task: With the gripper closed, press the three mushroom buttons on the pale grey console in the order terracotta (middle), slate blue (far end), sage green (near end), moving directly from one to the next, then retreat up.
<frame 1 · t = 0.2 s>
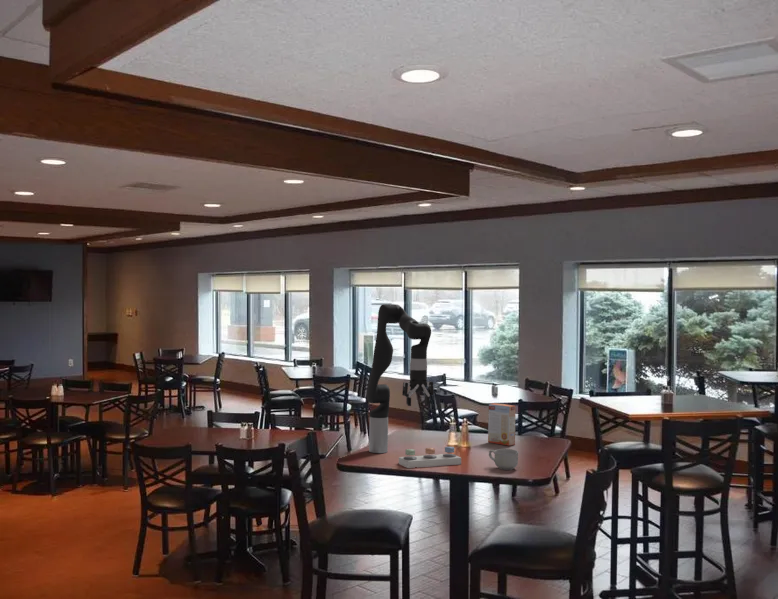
hand: (417, 405, 331), 29 cm above the table, fingers open, 8 cm apart
slate button: (449, 449, 348), point 6 cm above the table, slide at 0.0 cm
cracker box: (501, 444, 399), on the table
button panel: (429, 463, 344), on the table
teacup: (503, 468, 338), on the table
terracotta button: (430, 450, 344), point 6 cm above the table, slide at 0.0 cm
sage button: (410, 452, 340), point 6 cm above the table, slide at 0.0 cm
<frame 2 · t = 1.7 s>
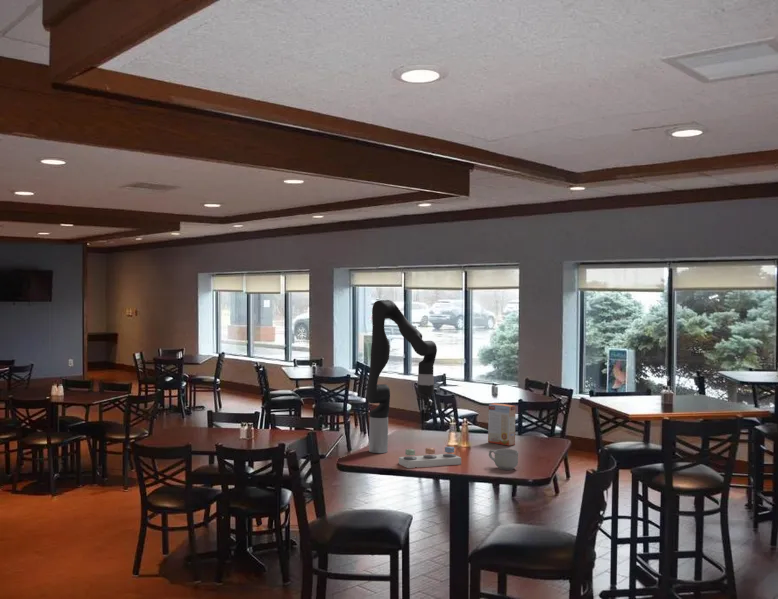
hand: (425, 420, 350), 19 cm above the table, fingers closed
nothing on the table moved.
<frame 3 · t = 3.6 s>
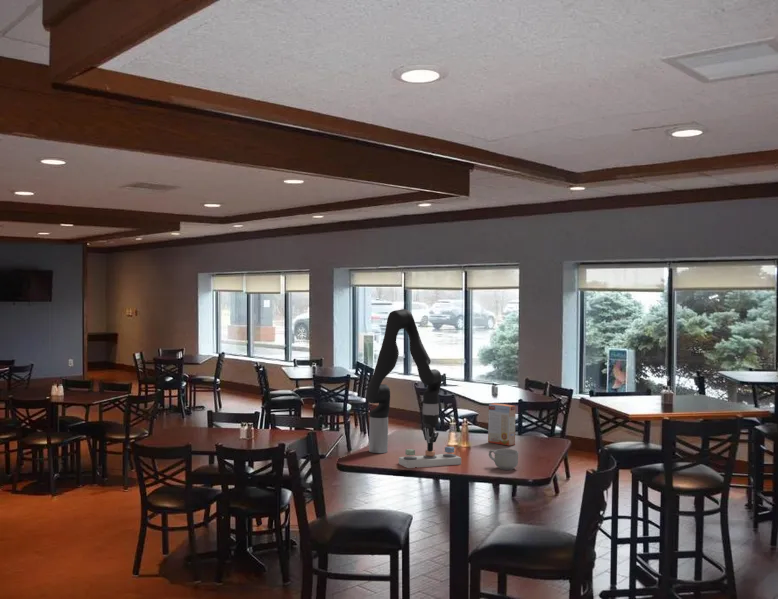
hand: (430, 450, 344), 6 cm above the table, fingers closed
terracotta button: (430, 453, 344), point 5 cm above the table, slide at 1.0 cm, touching gripper
everything else where it was.
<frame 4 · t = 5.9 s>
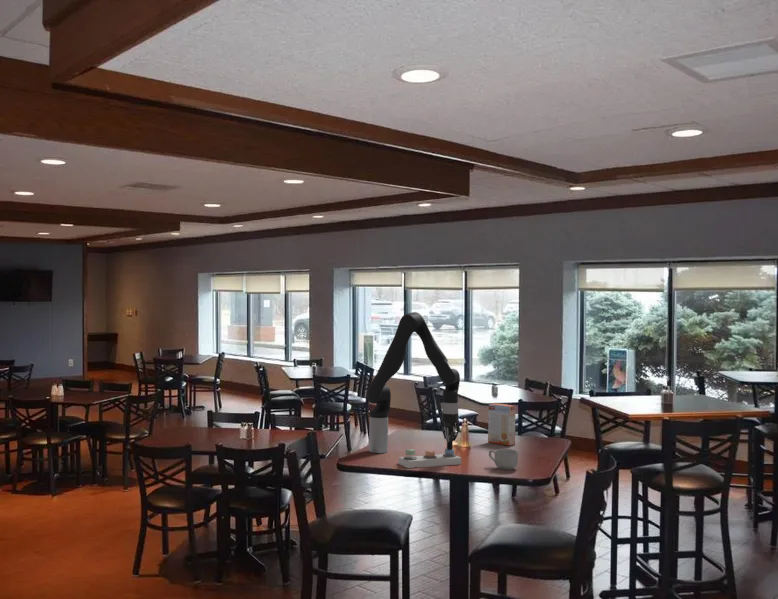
hand: (449, 449, 348), 6 cm above the table, fingers closed
slate button: (449, 451, 348), point 5 cm above the table, slide at 0.9 cm, touching gripper
terracotta button: (430, 453, 344), point 5 cm above the table, slide at 1.4 cm
everything else where it was.
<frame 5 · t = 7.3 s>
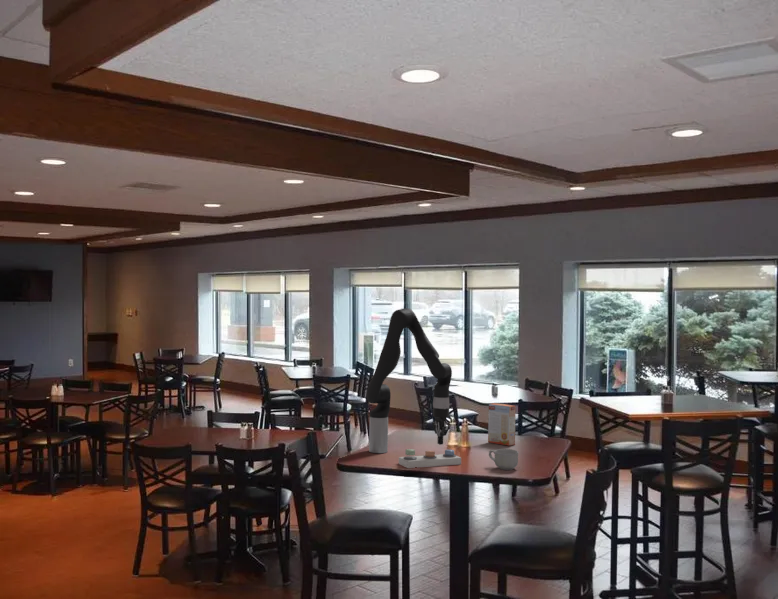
hand: (440, 444, 347), 9 cm above the table, fingers closed
slate button: (449, 452, 348), point 5 cm above the table, slide at 1.4 cm
everything else where it was.
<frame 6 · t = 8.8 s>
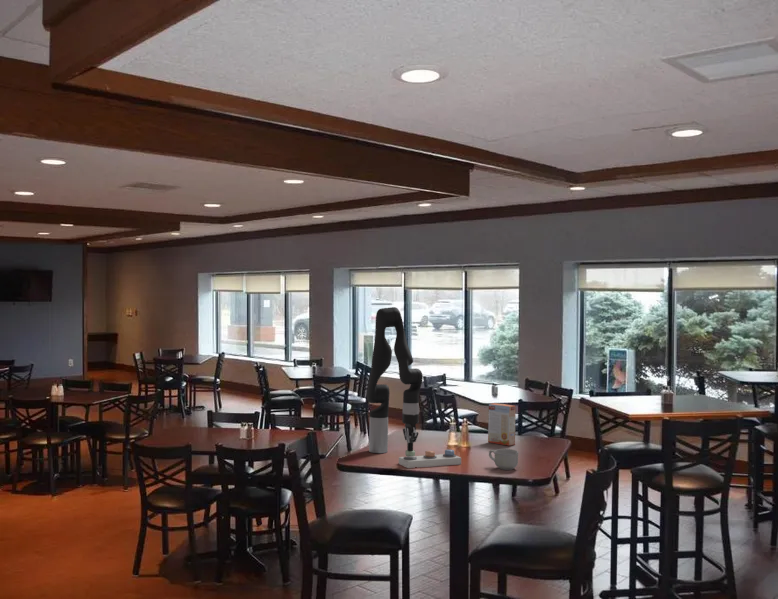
hand: (410, 450, 340), 7 cm above the table, fingers closed
sage button: (410, 453, 340), point 6 cm above the table, slide at 0.4 cm, touching gripper
everything else where it was.
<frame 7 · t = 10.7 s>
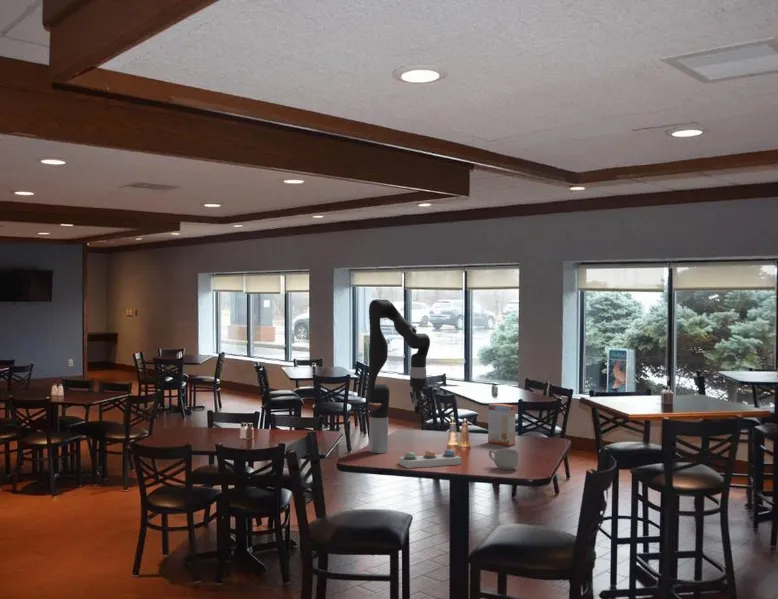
hand: (417, 413, 348), 22 cm above the table, fingers closed
sage button: (410, 455, 340), point 5 cm above the table, slide at 1.4 cm
everything else where it was.
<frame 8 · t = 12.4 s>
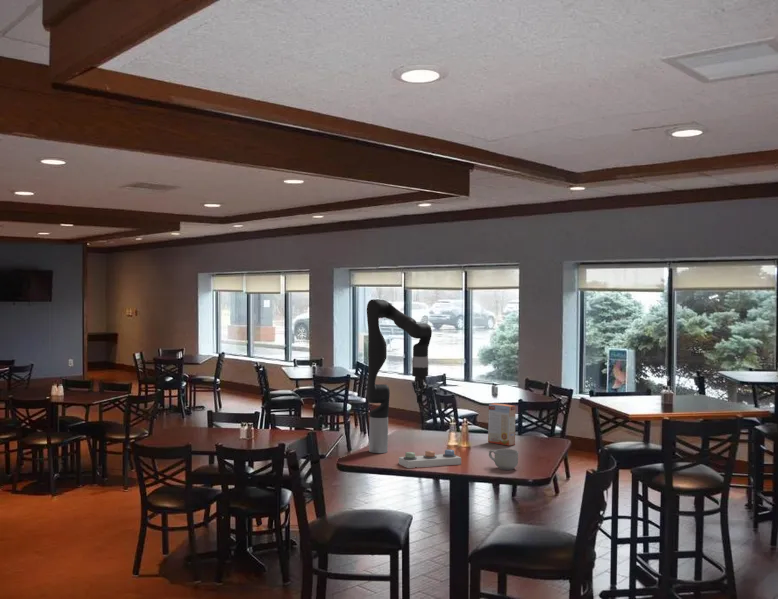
hand: (419, 403, 351), 27 cm above the table, fingers closed
nothing on the table moved.
at the end: terracotta button slide at 1.4 cm; slate button slide at 1.4 cm; sage button slide at 1.4 cm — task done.
